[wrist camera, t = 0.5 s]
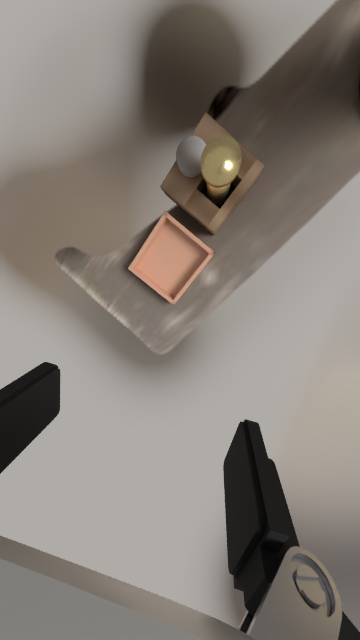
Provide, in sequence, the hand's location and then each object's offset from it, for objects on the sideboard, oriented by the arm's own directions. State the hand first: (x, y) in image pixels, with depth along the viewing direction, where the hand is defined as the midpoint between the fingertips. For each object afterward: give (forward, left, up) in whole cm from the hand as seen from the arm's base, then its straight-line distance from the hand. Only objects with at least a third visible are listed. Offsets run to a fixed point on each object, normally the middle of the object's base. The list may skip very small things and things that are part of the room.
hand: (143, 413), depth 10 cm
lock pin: (-16, -8, -28) cm, 33 cm away
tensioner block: (-16, -9, -28) cm, 34 cm away
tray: (-3, -7, -28) cm, 29 cm away
